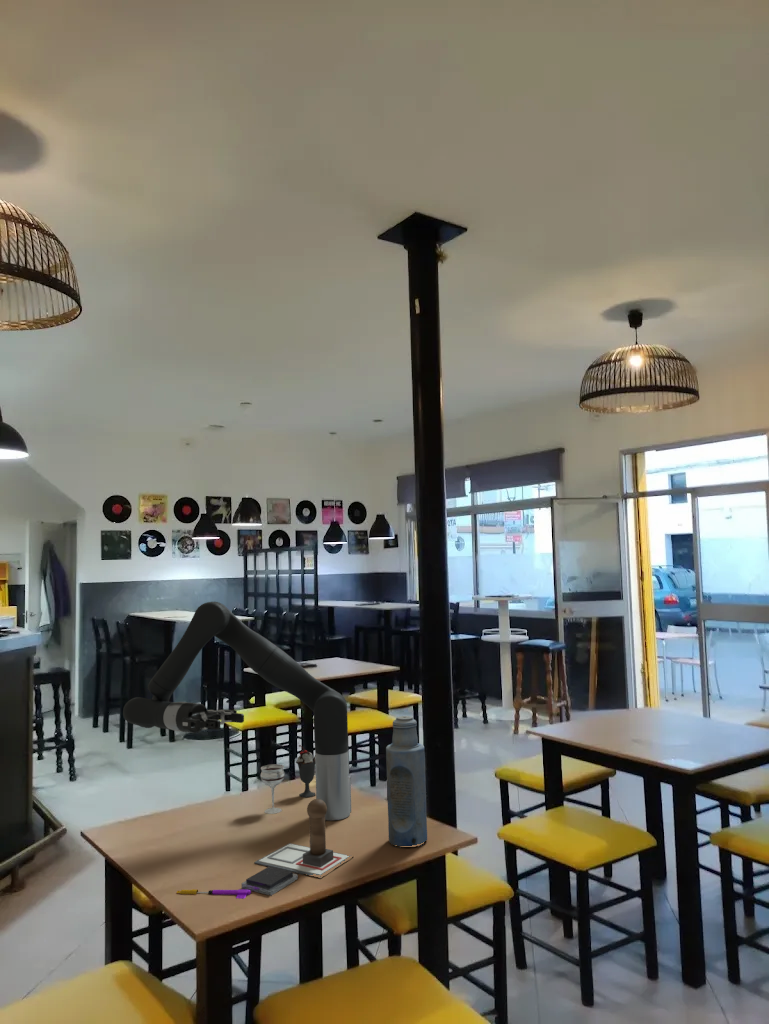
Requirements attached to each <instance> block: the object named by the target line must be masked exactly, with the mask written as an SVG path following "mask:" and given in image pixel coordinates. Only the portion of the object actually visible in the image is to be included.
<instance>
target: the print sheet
mask: <svg viewBox="0 0 769 1024" xmlns="http://www.w3.org/2000/svg"><path fill="white" fill-rule="evenodd" d="M309 850H310V846H305V845H300V844H296V843H291V842H289V843H287V844H285V845H284V846H281V847H280V848H278V849H276V850H274V851H272V852H270V853H267V855H265V856H262V857H261V858H260V859H257V860H256V861H254V864H255V865H259V866H264V867H269V866H270V867H274V868H279V869H283V870H288V871H292V872H293V874H297V875H298V874H299V875H303V874H307V875H313V874H316V875H322V874H323V873H325V872H326V871H328V870H330V869H331V868H333V867H334V866H336V865H337V864H339V863H340V864H341V862H342V861H345V859H347V858H348V857H350V856H351V855H349V854H345V853H340V852H335V851H333V860H331V861H330V862H328V863H327V864H325V865H323V866H322V867H317V866H313V865H308V864H303V854H304V853H306V852H307V851H309ZM347 855H349V856H347ZM307 875H306V876H307ZM320 877H321V876H320Z"/></svg>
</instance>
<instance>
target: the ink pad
mask: <svg viewBox="0 0 769 1024" xmlns="http://www.w3.org/2000/svg"><path fill="white" fill-rule="evenodd" d="M295 880H296V881H297V880H298V873H294V872H292V871H288V870H283V869H279V868H274V867H270V866H269V867H268V866H266V868H264V869H262V870H261V871H259V872H256V873H254V874H253V875H251V876H249V877H247V878H246V880H245V881H243V882H242V883H241V889H246V890H250V891H251V892H255V893H259V894H263V895H267V896H273V895H274V894H276V893H277V892H279V891H281V890H282V889H284V888H285V887H287V886H289V885H291V884H292V883H293V882H296V881H295Z"/></svg>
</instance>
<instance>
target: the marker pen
mask: <svg viewBox="0 0 769 1024" xmlns="http://www.w3.org/2000/svg"><path fill="white" fill-rule="evenodd" d="M176 893H180V894H179V895H197V894H208V895H215V896H216V895H217V896H218V895H222V896H223V895H225V896H231V895H232V896H236V898H235V899H237V898H238V899H239V900H240V899H242V900H244V899H245V898H246V897H247V896H250V895H251V893H252V891H250V890H246V889H242V888H241V889H209V890H208V891H199V889H196V888H193V889H181V890H177V891H176Z"/></svg>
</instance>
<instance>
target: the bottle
mask: <svg viewBox="0 0 769 1024" xmlns="http://www.w3.org/2000/svg"><path fill="white" fill-rule="evenodd" d="M417 726H418V725H417V720H416V719H414V716H410V715H400V716H396V718H395V720H393V722H392V730H393V731H392V739H391V743H390V744H388V745H387V746H386V747H385V755H386V756H385V759H386V760H385V761H386V788H387V789H386V792H387V797H386V798H387V816H388V817H387V819H388V820H387V821H388V826H387V828H388V842H389V843H391V844H390V845H392V844H393V845H397V846H412V845H417V844H421V843H423V842H425V841H426V840H427V841H428V821H427V820H428V819H427V818H428V817H427V794H426V793H427V792H426V791H427V790H426V757H425V756H426V755H425V754H426V753H425V746H424V744H421V743H419V740H418V739H419V737H418V734H417V733H418V732H417ZM393 845H392V846H393Z"/></svg>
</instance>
